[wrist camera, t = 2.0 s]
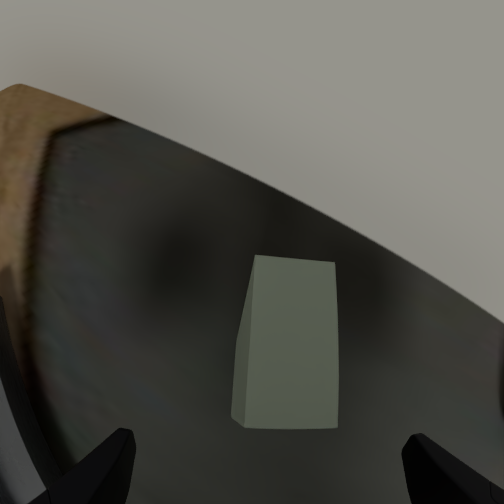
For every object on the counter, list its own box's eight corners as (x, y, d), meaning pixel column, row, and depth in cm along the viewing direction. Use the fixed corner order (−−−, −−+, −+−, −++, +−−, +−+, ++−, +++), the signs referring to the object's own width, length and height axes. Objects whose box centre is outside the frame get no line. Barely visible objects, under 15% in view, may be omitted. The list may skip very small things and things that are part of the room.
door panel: (270, 419, 18) (337, 428, 7) (230, 416, 18) (244, 427, 7) (274, 344, 20) (334, 262, 10) (236, 341, 20) (255, 255, 10)
